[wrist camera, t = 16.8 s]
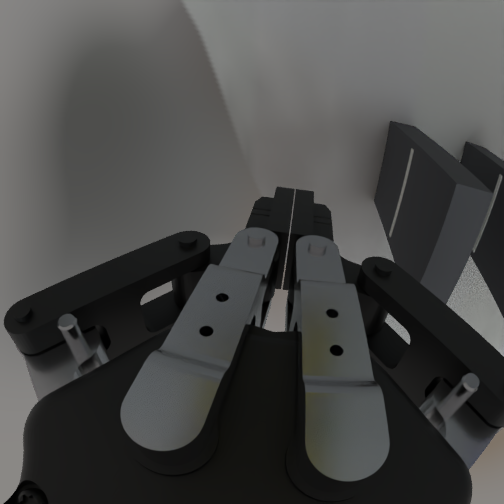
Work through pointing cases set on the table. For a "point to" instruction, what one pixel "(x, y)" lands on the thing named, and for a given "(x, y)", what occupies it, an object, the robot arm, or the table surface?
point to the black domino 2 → (489, 219)
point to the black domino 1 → (429, 208)
